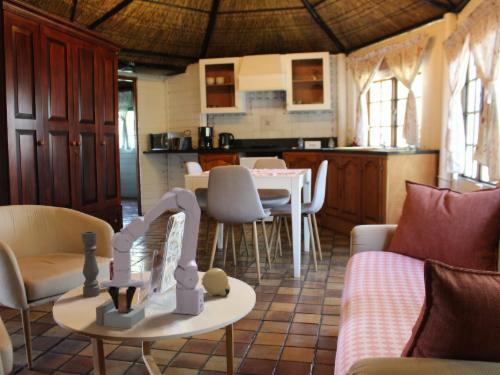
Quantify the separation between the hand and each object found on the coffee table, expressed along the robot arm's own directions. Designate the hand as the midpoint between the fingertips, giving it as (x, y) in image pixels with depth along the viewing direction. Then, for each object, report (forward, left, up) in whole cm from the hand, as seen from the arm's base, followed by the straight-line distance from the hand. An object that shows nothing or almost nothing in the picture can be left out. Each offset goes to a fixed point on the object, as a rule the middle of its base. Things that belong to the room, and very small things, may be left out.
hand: (123, 308), depth 164 cm
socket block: (0, -1, -5) cm, 5 cm away
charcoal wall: (+6, -1, -5) cm, 8 cm away
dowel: (0, 0, -2) cm, 2 cm away
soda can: (+21, -35, -5) cm, 41 cm away
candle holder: (+26, -24, -5) cm, 36 cm away
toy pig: (-22, -35, -5) cm, 42 cm away
